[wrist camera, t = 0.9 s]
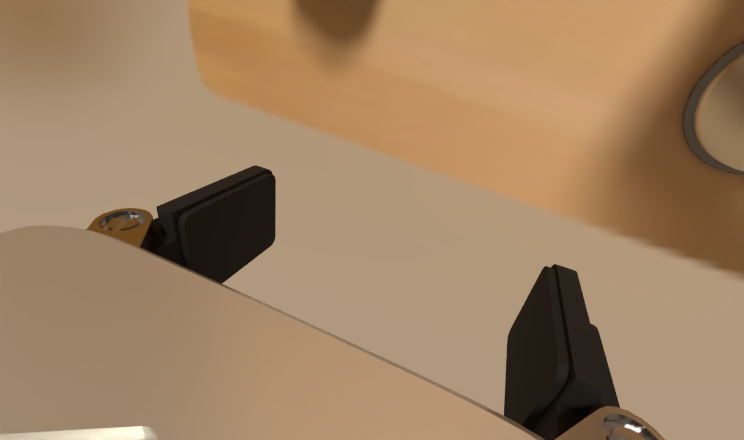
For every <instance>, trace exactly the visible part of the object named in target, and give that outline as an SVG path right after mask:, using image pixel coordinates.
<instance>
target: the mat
mask: <svg viewBox="0 0 744 440" xmlns="http://www.w3.org/2000/svg"><path fill="white" fill-rule="evenodd" d="M743 52H744V42H742V43H741V44H739V45H738V46H736V47H734V48H733V49H731V50H730V51H729V52H727V53H726V54H725V55H723V56H722V57H721V58H720V59H719V60H718V61H716V62H715V63H714V64H713V65H712V66H711V67H710V68H709V69H708V70H707V71H706V73H705V74H704V75H703V76H702V77H701V79H700V80H699V81H698V83H697V84H696V86H695V87H694V89H693V91H692V93H691V94H690V96H689V99H688V101H687V104H686V107H685V111H684V117H683V129H684V134H685V138H686V140H687V142H688V144H689V146H690V148H691V149H692V150H693V152H694V153H695V154H696V155H697V156H698V157H699V158H700V159H702V160H703V161H705V162H706V163H708V164H710V165H711V166H714V167H716V168H718V169H720V170H723V171H726V172H729V173H734V174H739V175H744V171H741V170H737V169H734V168H732V167H730V166H727V165H725V164H723V163H721V162H719V161H717V160H716V159H714V158H713V157H711V156H710V155H709V154H708V153H707V152H705V151H704V149H703V148H702V147H701V145H700V144H699V142H698V140H697V138H696V134H695V130H694V115H695V111H696V107H697V104H698V102H699V99H700V97H701V95H702V93H703V91H704V90H705V88H706V87H707V85H708V84H709V83H710V81H711V80H712V79H713V78H714V77H715V75H716V74H717V73H718V72H719V71H720V70H721V69H722V68H723V67H724V66H725V65H727V64H728V63H729V62H730V61H731V60H733V59H734V58H735V57H737V56H738V55H739V54H741V53H743Z"/></svg>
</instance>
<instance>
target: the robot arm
mask: <svg viewBox="0 0 744 440" xmlns="http://www.w3.org/2000/svg"><path fill="white" fill-rule="evenodd" d="M157 212H158V217H159V218H156V219H154V220H153V216H152V215H151V213H150V212H148V211H146V210H142V209H136V208H126V209H119V210H114V211H110V212H107V213H104V214H102V215H100V216H98V217H97V218H96V219H95V220H94V221H93V222H92V223H91V224H90V226H89V227H88V228H87V229H86V230H85V229H80V228H73V227H63V226H27V227H22V228H17V229H13V230H10V231H6V232H3V233H0V440H665V439H664V438H663V437H662V436H661V435H660V434H659V433H658V432H657V431H656V430H655V429H654V428H653V427H652V426H650V425H649V424H648V423H646V422H645V421H644V420H643V419H641V418H640V417H638V416H636V415H634V414H632V413H631V412H629V411H627V410H624V409H621V408H620V406H619V402H618V399H617V396H616V392H615V388H614V385H613V381H612V377H611V374H610V370H609V367H608V363H607V360H606V356H605V352H604V349H603V345H602V342H601V338H600V335H599V332H598V329H597V327H595V326H594V325H592V324H590V321H589V317H588V313H587V309H586V305H585V301H584V298H583V294H582V290H581V286H580V282H579V279H578V274H577V272H576V271H574V270H571V269H568V268H565V267H562V266H559V265H556V264H554V265H553V266H552V267H551V268H550V267H547V266H545V267H544V268H543V270H542V271H541V273H540V275H539V277H538V279H537V281H536V283H535V284H534V286H533V288H532V290H531V292H530V294H529V296H528V298H527V300H526V301H525V303H524V305H523V307H522V309H521V311H520V313H519V315H518V316H517V318H516V320H515V322H514V324H513V326H512V328H511V329H510V332H509V335H508V343H507V361H506V385H505V405H504V416H503V415H501V414H499V413H497V412H495V411H493V410H491V409H489V408H487V407H485V406H484V405H482V404H479V403H478V402H476V401H474V400H472V399H469V398H468V397H466V396H464V395H462V394H460V393H457V392H455V391H453V390H451V389H449V388H446V387H444V386H442V385H440V384H438V383H436V382H434V381H432V380H430V379H428V378H425V377H424V376H421V375H419V374H417V373H415V372H413V371H411V370H408V369H406V368H404V367H402V366H400V365H398V364H396V363H393V362H391V361H389V360H387V359H385V358H383V357H381V356H378V355H376V354H374V353H372V352H369V351H368V350H365V349H363V348H361V347H359V346H357V345H355V344H353V343H350V342H348V341H346V340H343V339H341V338H339V337H337V336H335V335H333V334H331V333H329V332H327V331H324V330H322V329H320V328H318V327H316V326H313V325H311V324H309V323H307V322H305V321H302V320H300V319H298V318H296V317H294V316H292V315H289V314H287V313H285V312H283V311H281V310H278V309H276V308H274V307H272V306H270V305H267V304H265V303H263V302H261V301H259V300H257V299H254V298H252V297H250V296H248V295H246V294H243V293H241V292H239V291H237V290H234V289H232V288H230V287H228V286H226V285H223V284H222V283H223V282H225V281H226V280H227V279H228V278H230V277H231V276H232V275H234V274H235V273H236V272H238V271H239V270H240V269H241V268H243V267H244V266H245V265H247V264H248V263H249V262H251V261H252V260H253V259H254V258H256V257H257V256H258V255H259V254H261V253H262V252H263V251H265V250H266V249H267V248H269V247H270V246H271V245H272V244H273V242H274V240H275V177H274V175H273V174H272V172H271V171H270V170H268V169H265V168H262V167H259V166H252V167H250V168H247V169H245V170H243V171H241V172H238V173H236V174H233V175H231V176H228V177H226V178H224V179H221V180H219V181H217V182H214V183H212V184H209V185H207V186H205V187H202V188H200V189H198V190H195V191H193V192H190V193H188V194H186V195H183V196H181V197H179V198H176V199H174V200H171V201H169V202H167V203H165V204H162V205H160V206H157Z"/></svg>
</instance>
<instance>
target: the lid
mask: <svg viewBox="0 0 744 440" xmlns="http://www.w3.org/2000/svg"><path fill="white" fill-rule="evenodd" d="M694 130H695V134H696V138H697V140H698V142H699V144H700V145H701V147H702V148H703V149H704V151H705V152H707V153H708V154H709V155H710V156H711V157H713V158H714V159H716V160H717V161H719V162H721V163H723V164H725V165H727V166H730V167H732V168H734V169H737V170H741V171H744V52H743V53H741V54H739V55H738V56H737V57H735V58H734V59H733V60H731V61H730V62H729V63H728V64H727V65H725V66H724V67H723V68H722V69H721V70H720V71H719V72H718V73H717V74H716V75H715V77H714V78H713V79H712V80H711V81H710V83H709V84H708V85H707V87H706V88H705V90H704V91H703V93H702V95H701V97H700V99H699V102H698V104H697V107H696V111H695V115H694Z"/></svg>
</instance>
